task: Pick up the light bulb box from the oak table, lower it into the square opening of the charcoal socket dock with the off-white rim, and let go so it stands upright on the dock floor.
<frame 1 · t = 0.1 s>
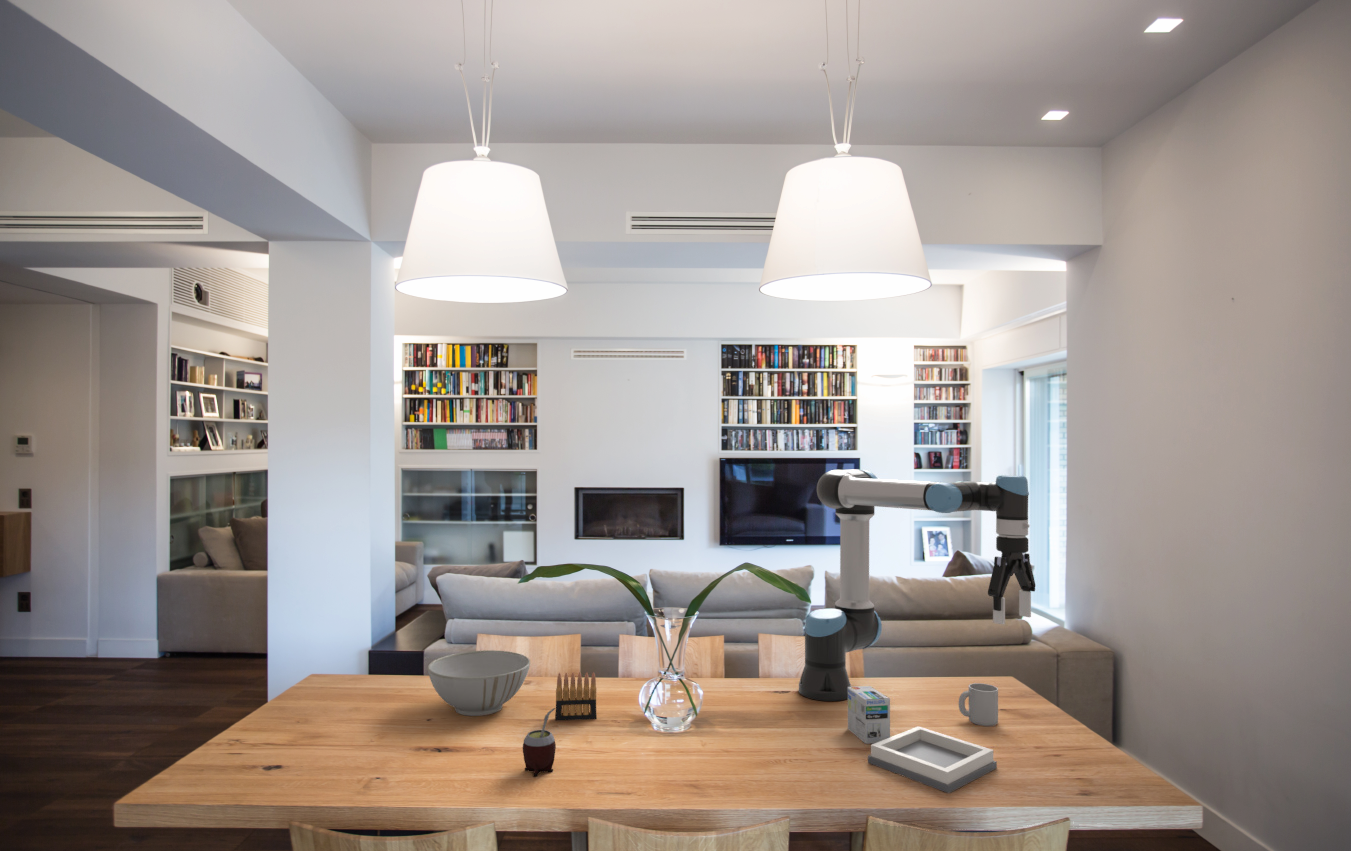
hand: (1012, 620, 197), 28 cm above the table, tool pointing down, fingers open, 13 cm apart
cup: (977, 722, 203), on the table
socket dock: (931, 765, 174), on the table
decorative bowl: (478, 709, 209), on the table
light bulb box: (868, 736, 192), on the table
ammunition clip: (575, 719, 202), on the table
mate gourd: (540, 772, 169), on the table
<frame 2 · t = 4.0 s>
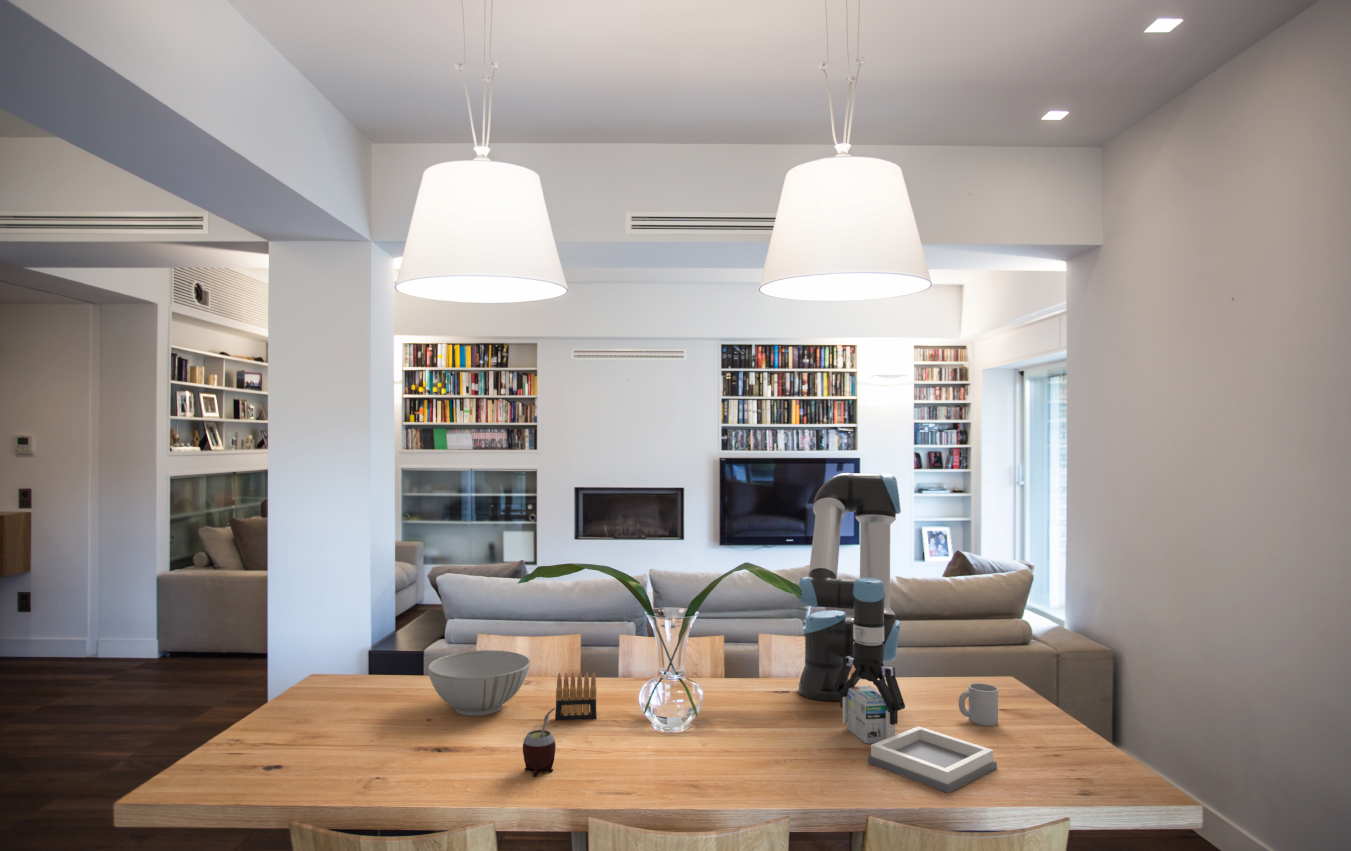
hand: (868, 729, 192), 1 cm above the table, tool pointing down, fingers closed on light bulb box, 12 cm apart
light bulb box: (868, 736, 192), on the table, touching gripper
everything else where it was.
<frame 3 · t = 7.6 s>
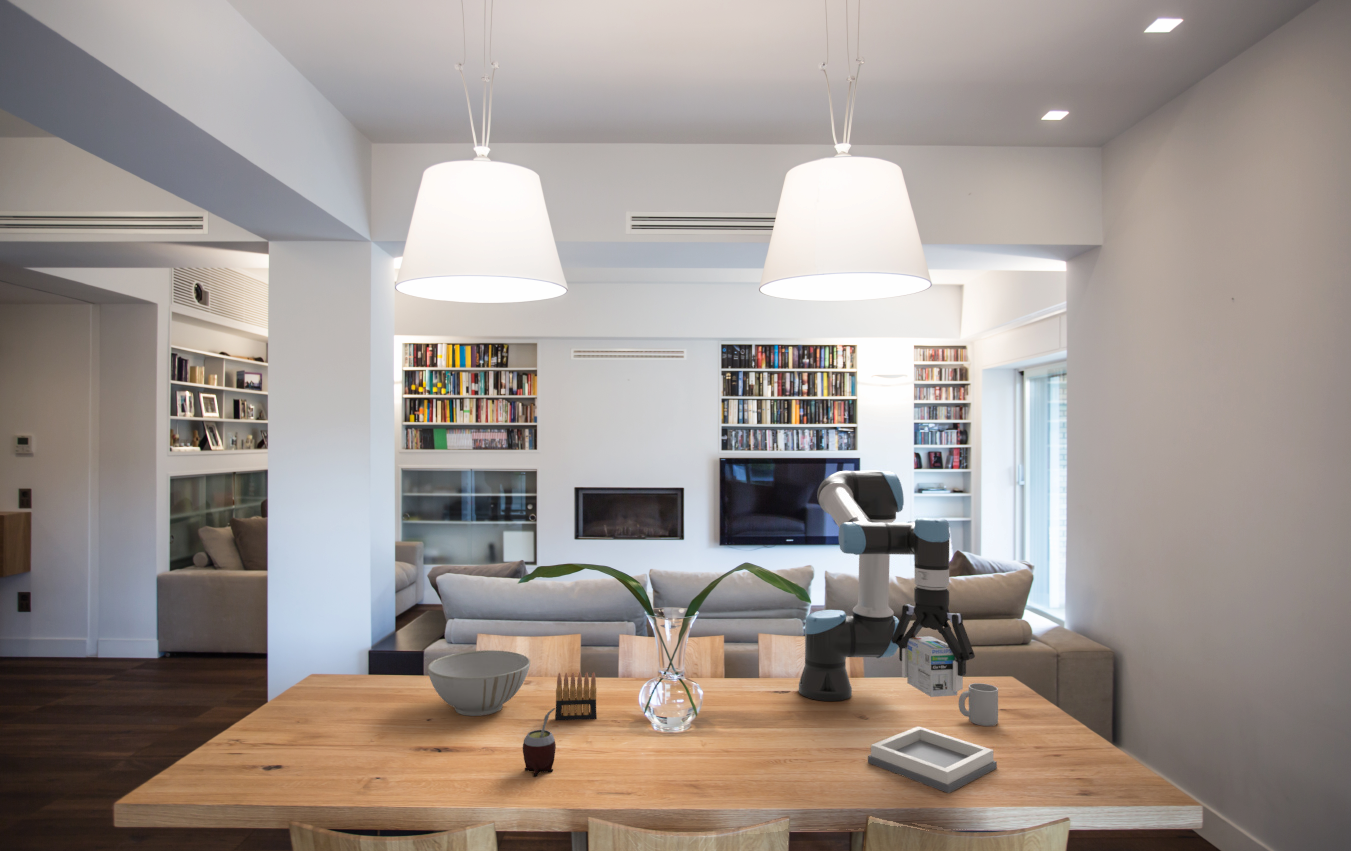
hand: (931, 683, 175), 18 cm above the table, tool pointing down, fingers closed on light bulb box, 12 cm apart
light bulb box: (931, 690, 175), point 17 cm above the table, touching gripper
everything else where it was.
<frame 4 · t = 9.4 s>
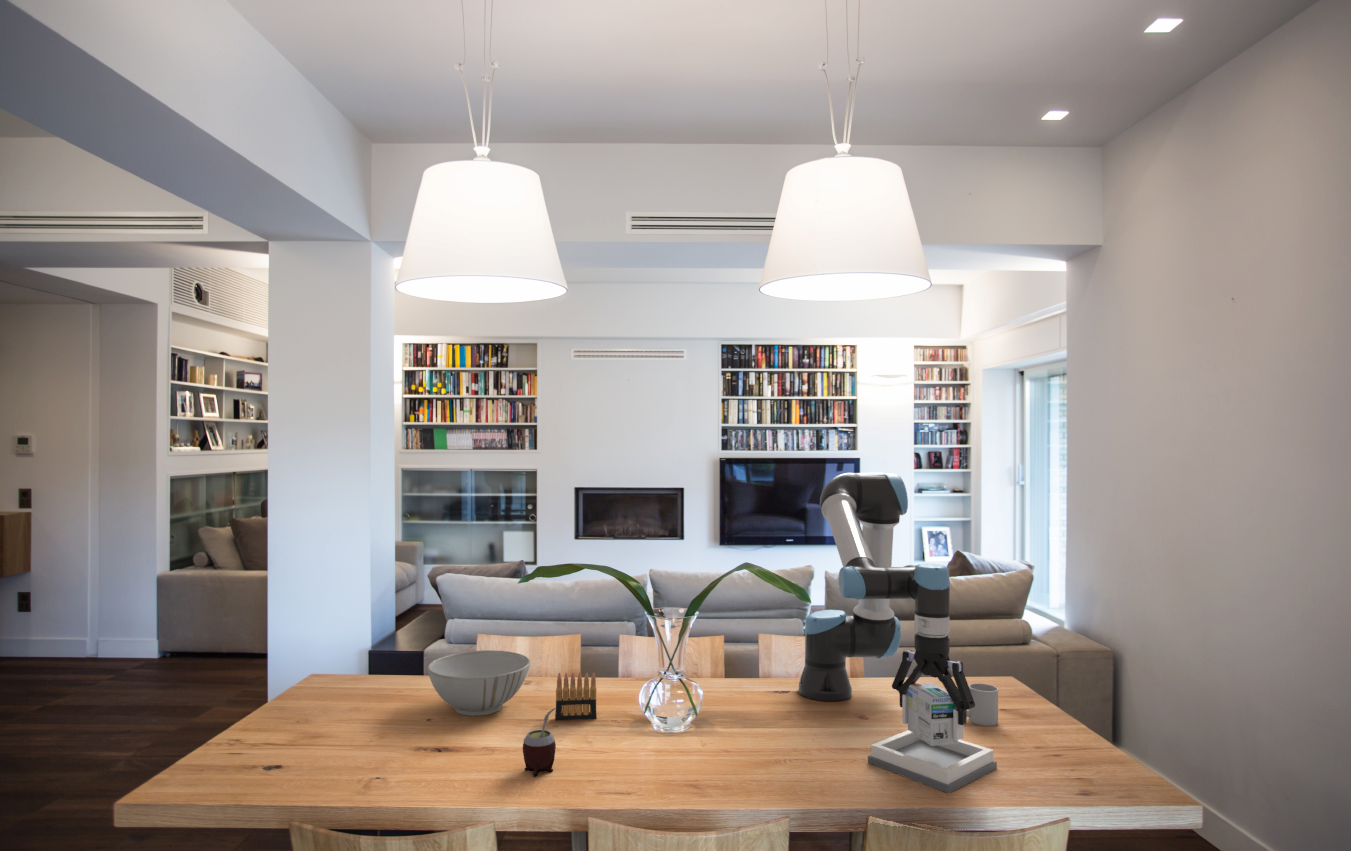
hand: (931, 730, 175), 8 cm above the table, tool pointing down, fingers closed on light bulb box, 12 cm apart
light bulb box: (931, 738, 174), point 6 cm above the table, touching gripper
everything else where it was.
when the fingers open (5 cm above the table, at t = 11.1 s): light bulb box drops 2 cm, resting on socket dock.
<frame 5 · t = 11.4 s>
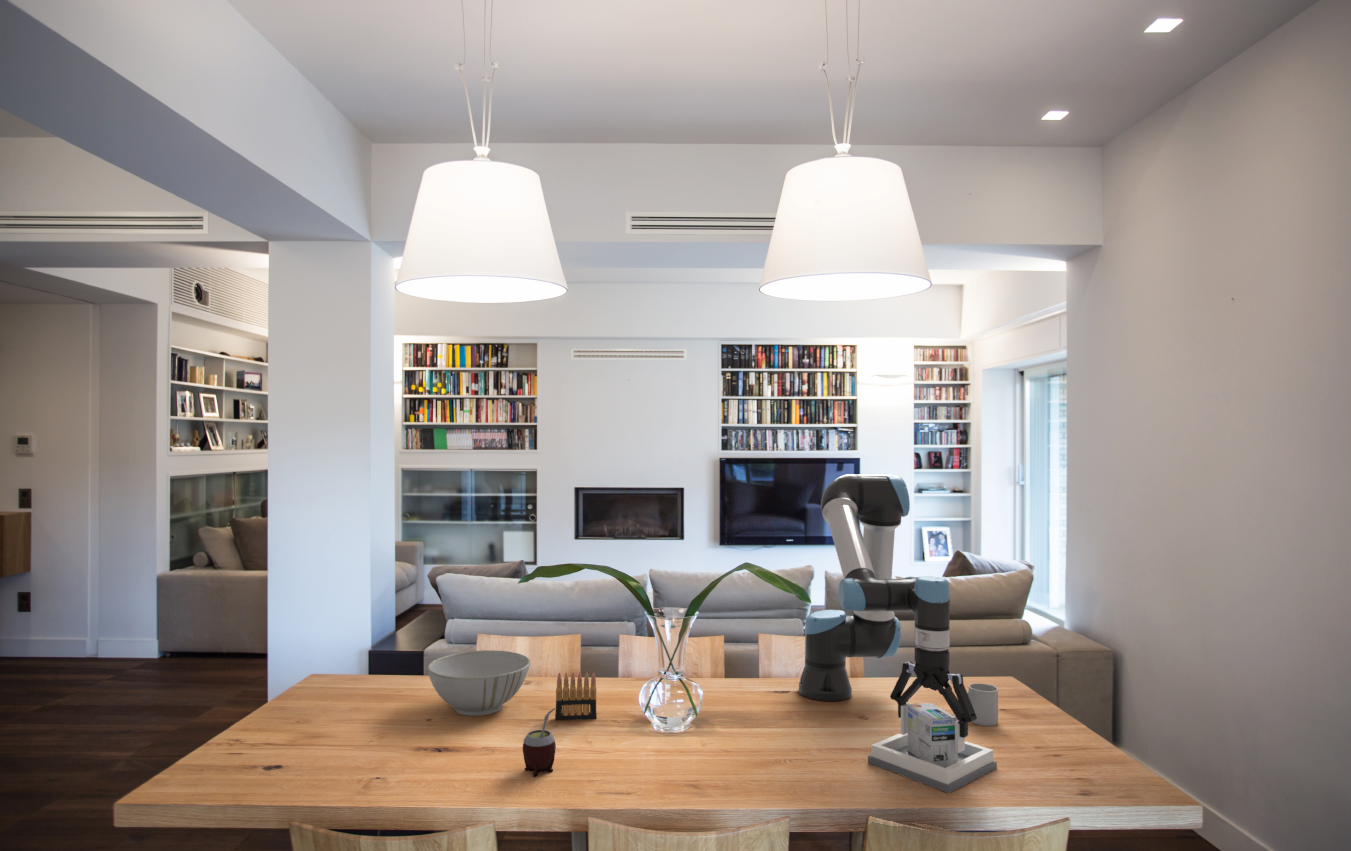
hand: (931, 742, 175), 5 cm above the table, tool pointing down, fingers open, 13 cm apart
light bulb box: (931, 759, 174), point 1 cm above the table, touching socket dock
everything else where it was.
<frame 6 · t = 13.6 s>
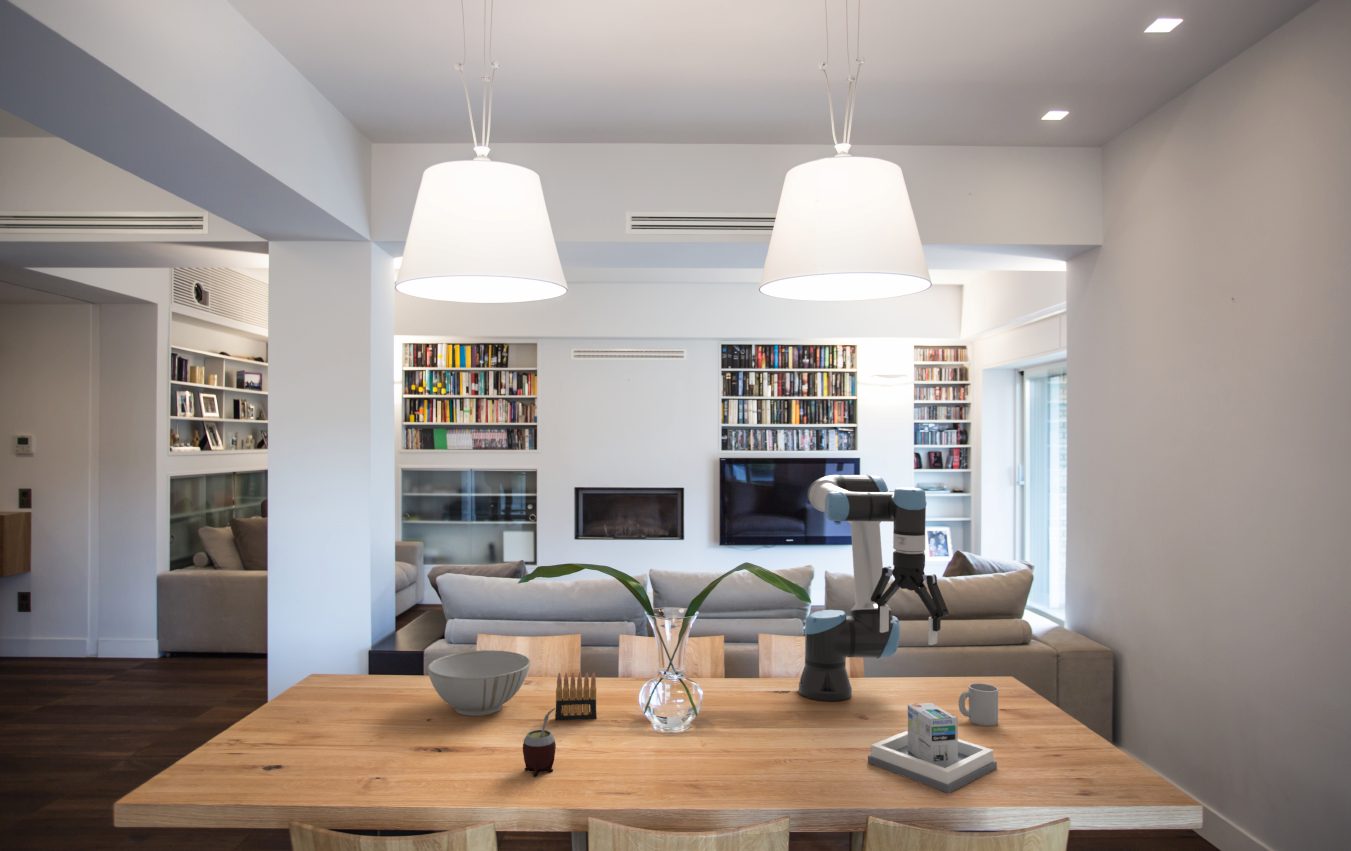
hand: (907, 637, 190), 25 cm above the table, tool pointing down, fingers open, 13 cm apart
nothing on the table moved.
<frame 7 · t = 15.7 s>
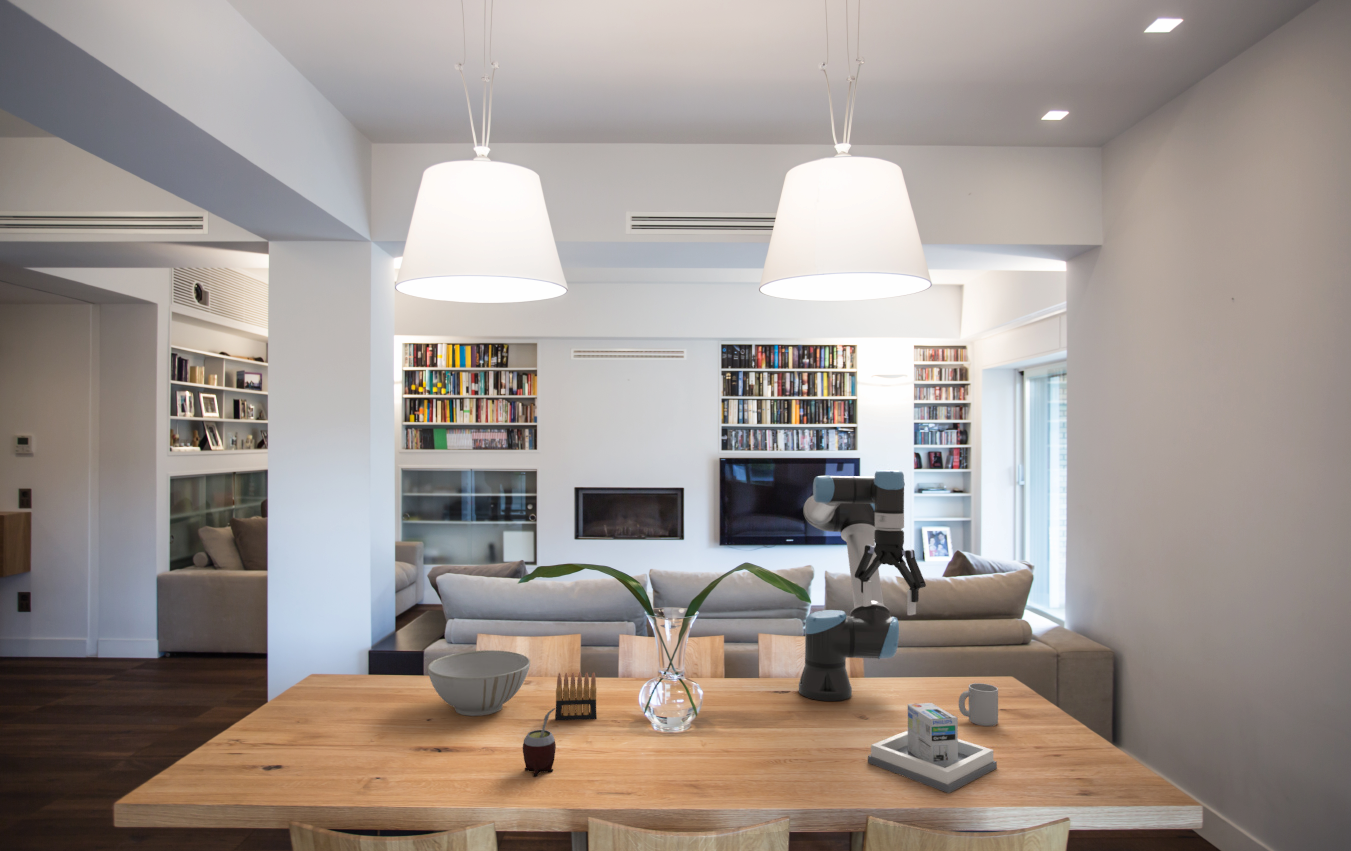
hand: (888, 610, 204), 29 cm above the table, tool pointing down, fingers open, 13 cm apart
nothing on the table moved.
at the end: light bulb box 0.1 cm off-centre on the socket dock, point 1.3 cm above the socket dock's base; light bulb box tilted 0°; the gripper is holding nothing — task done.
